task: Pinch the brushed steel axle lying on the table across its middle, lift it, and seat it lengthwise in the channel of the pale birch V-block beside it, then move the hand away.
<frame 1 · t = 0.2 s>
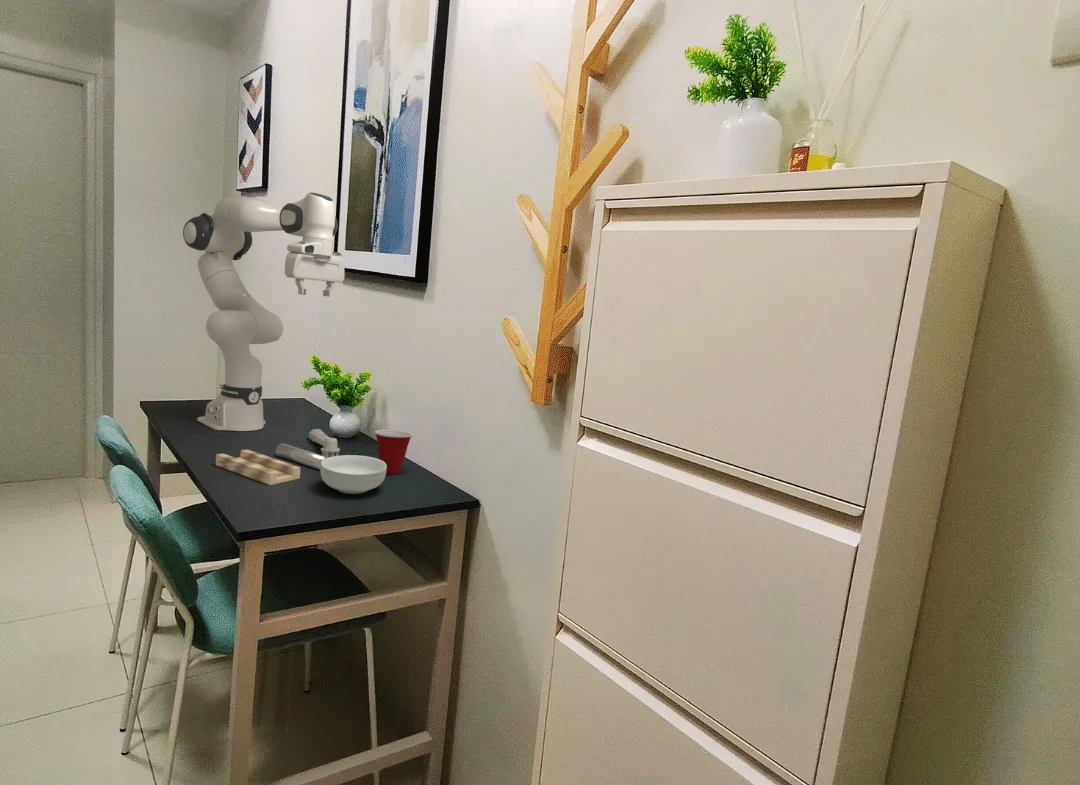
hand: (314, 295, 201), 47 cm above the table, tool pointing down, fingers open, 8 cm apart
toothbrush head: (322, 450, 209), on the table
cereal bowl: (352, 490, 174), on the table
v block: (257, 471, 179), on the table
axle: (302, 463, 192), on the table
plastic cup: (390, 472, 194), on the table
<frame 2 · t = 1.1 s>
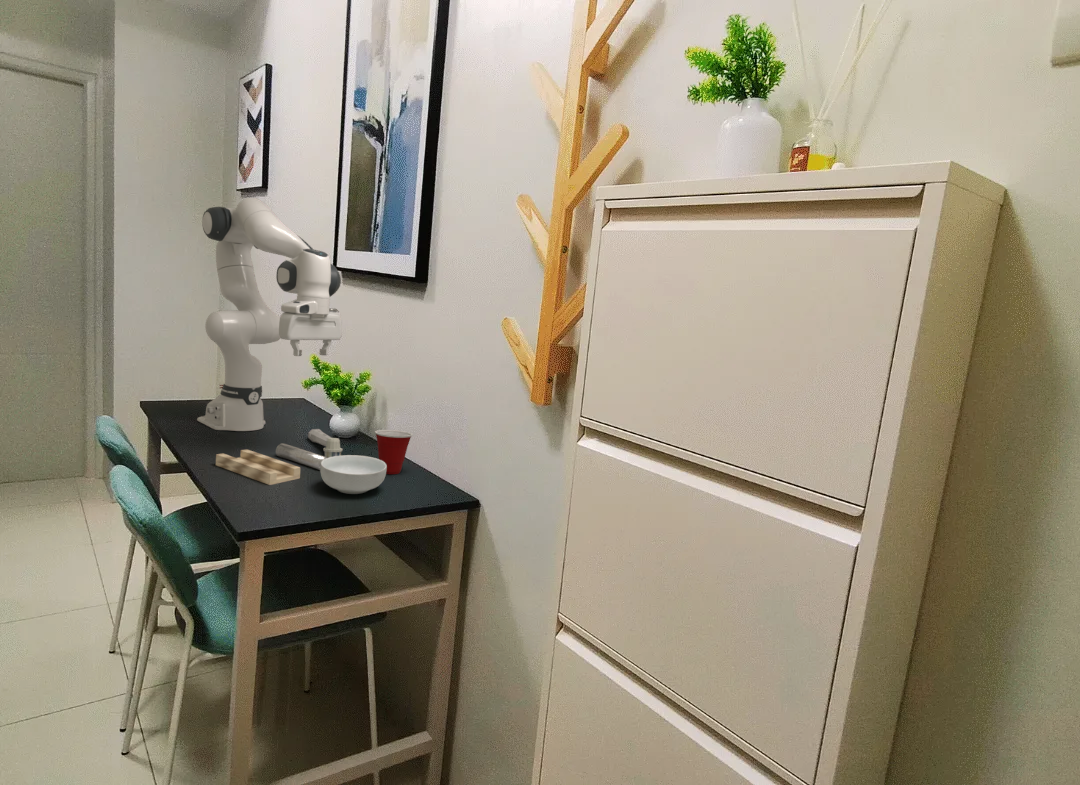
hand: (310, 355, 191), 31 cm above the table, tool pointing down, fingers open, 8 cm apart
nothing on the table moved.
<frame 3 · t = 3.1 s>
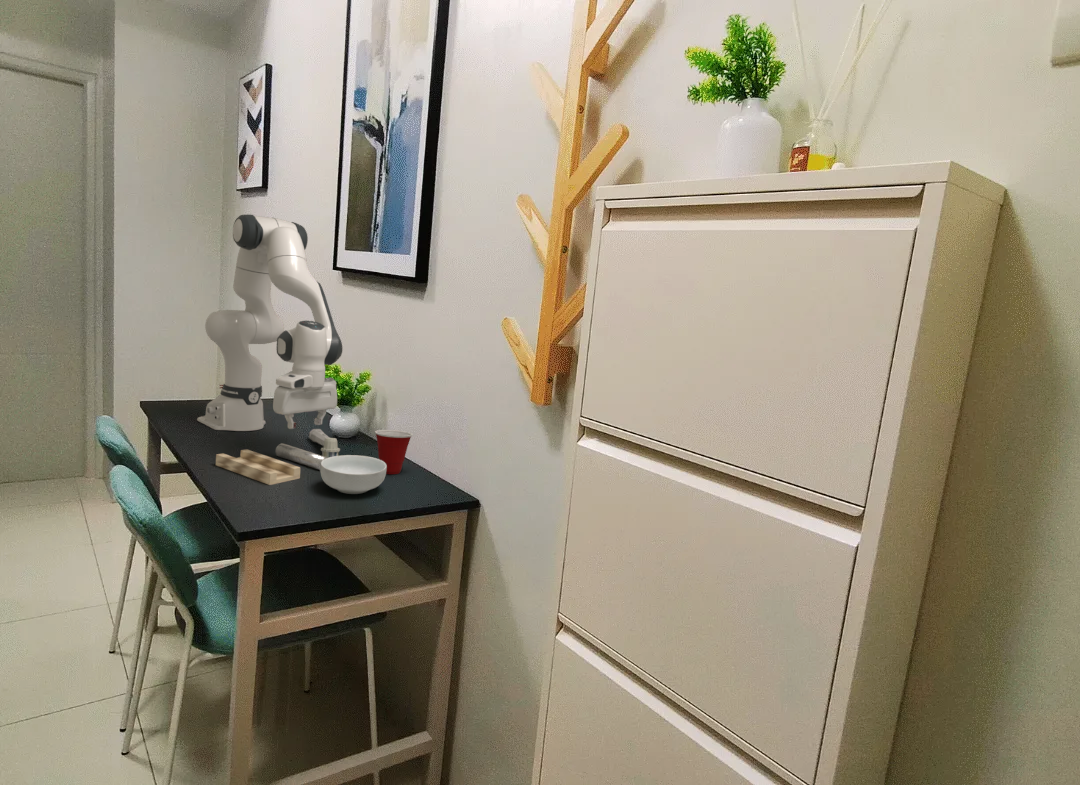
hand: (305, 426, 190), 11 cm above the table, tool pointing down, fingers open, 8 cm apart
nothing on the table moved.
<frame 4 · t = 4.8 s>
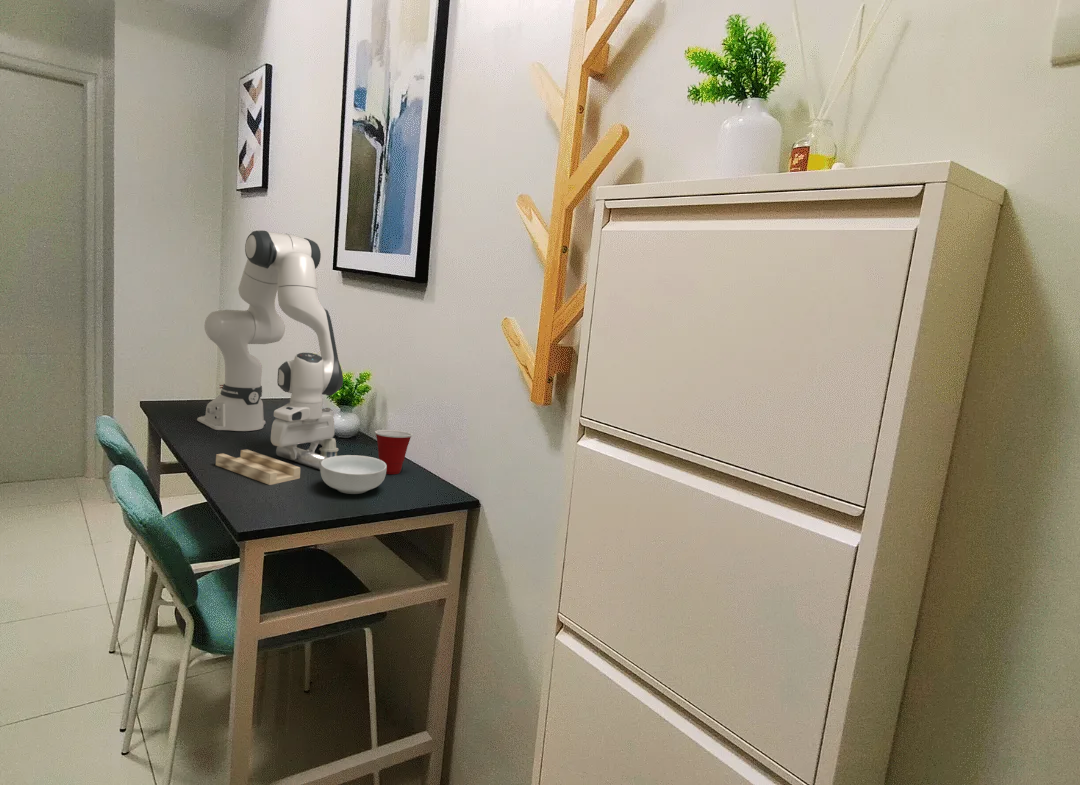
hand: (302, 457, 192), 2 cm above the table, tool pointing down, fingers closed on axle, 4 cm apart
axle: (302, 463, 192), on the table, touching gripper
everything else where it was.
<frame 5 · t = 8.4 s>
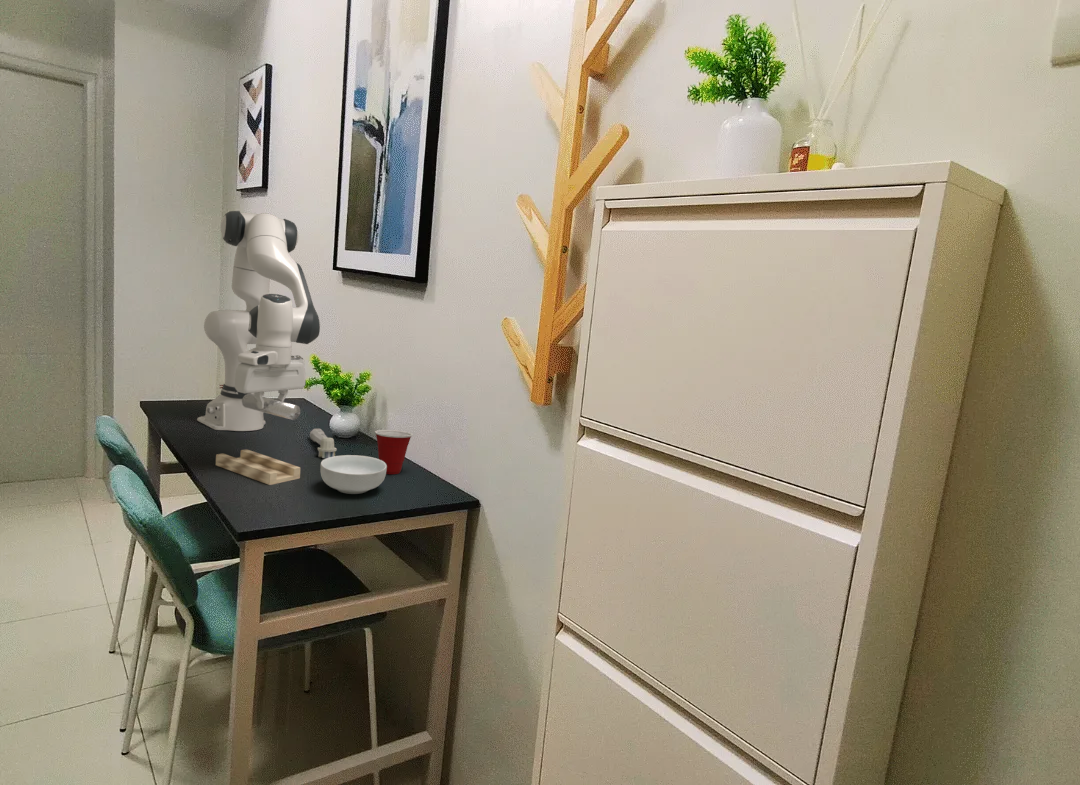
hand: (270, 407, 178), 18 cm above the table, tool pointing down, fingers closed on axle, 4 cm apart
axle: (270, 413, 179), point 16 cm above the table, touching gripper
everything else where it was.
when the fingers open (5 cm above the table, at t = 11.4 s): axle drops 2 cm, resting on v block.
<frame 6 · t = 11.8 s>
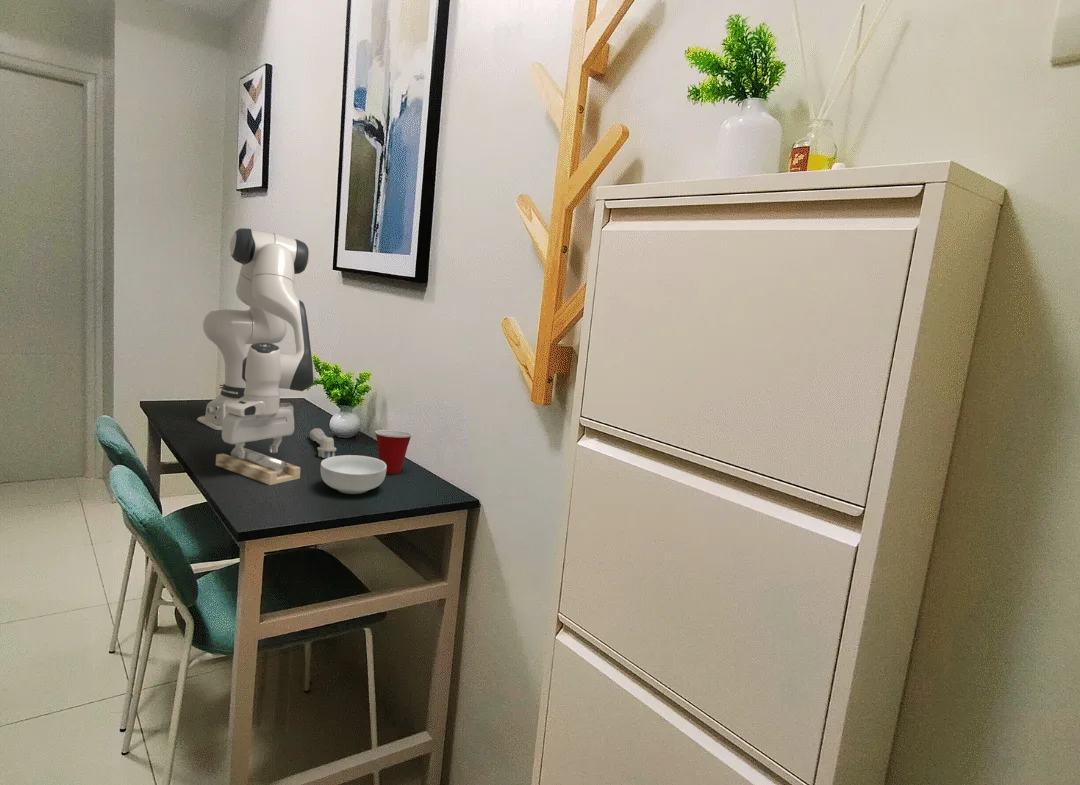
hand: (258, 455, 178), 5 cm above the table, tool pointing down, fingers open, 8 cm apart
axle: (257, 468, 179), point 1 cm above the table, tilted 6°, touching v block
everything else where it was.
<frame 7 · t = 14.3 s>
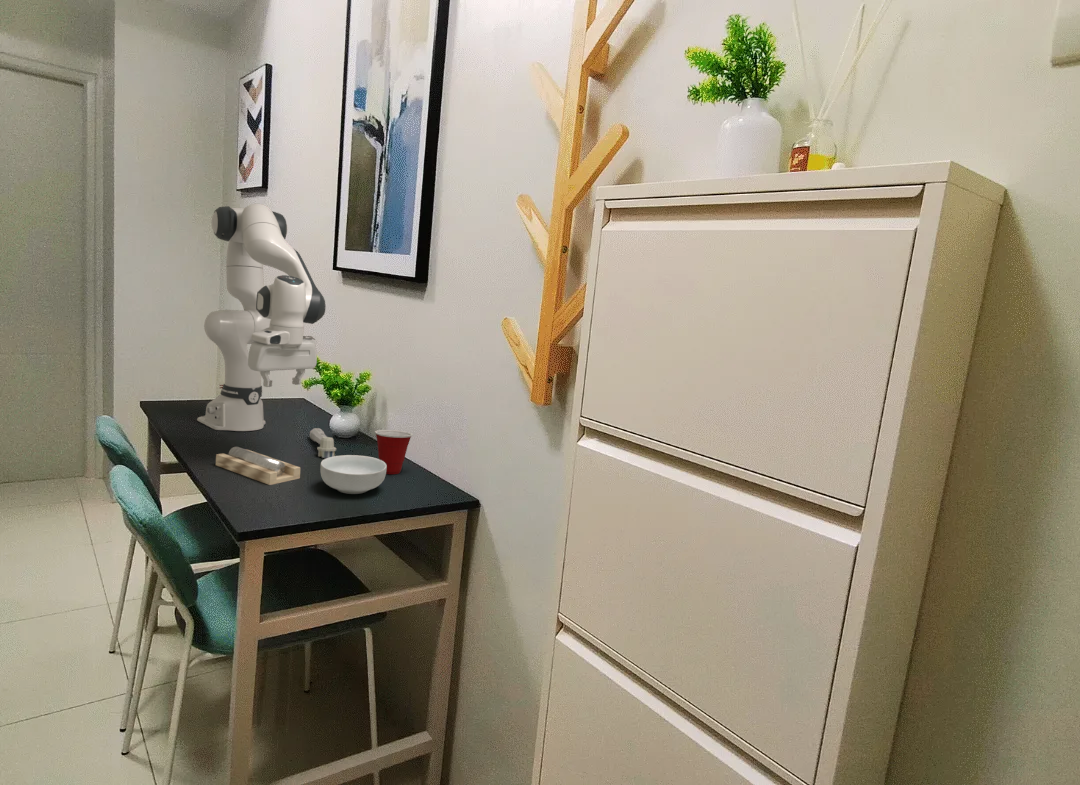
hand: (282, 385, 184), 23 cm above the table, tool pointing down, fingers open, 8 cm apart
axle: (257, 467, 179), point 1 cm above the table, tilted 16°, touching v block
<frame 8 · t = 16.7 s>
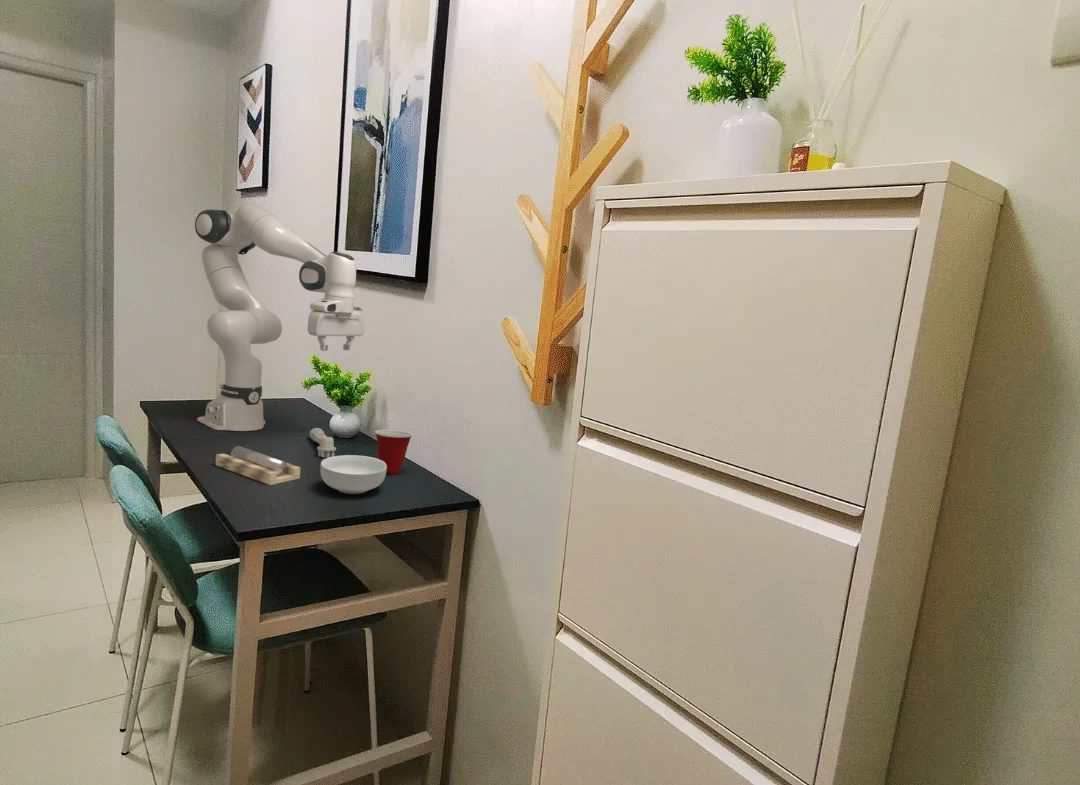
hand: (335, 350, 207), 31 cm above the table, tool pointing down, fingers open, 8 cm apart
axle: (257, 468, 179), point 1 cm above the table, tilted 6°, touching v block
at the end: axle 0.0 cm off-centre on the v block, point 1.0 cm above the v block's base; axle touching v block; the gripper is holding nothing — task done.
